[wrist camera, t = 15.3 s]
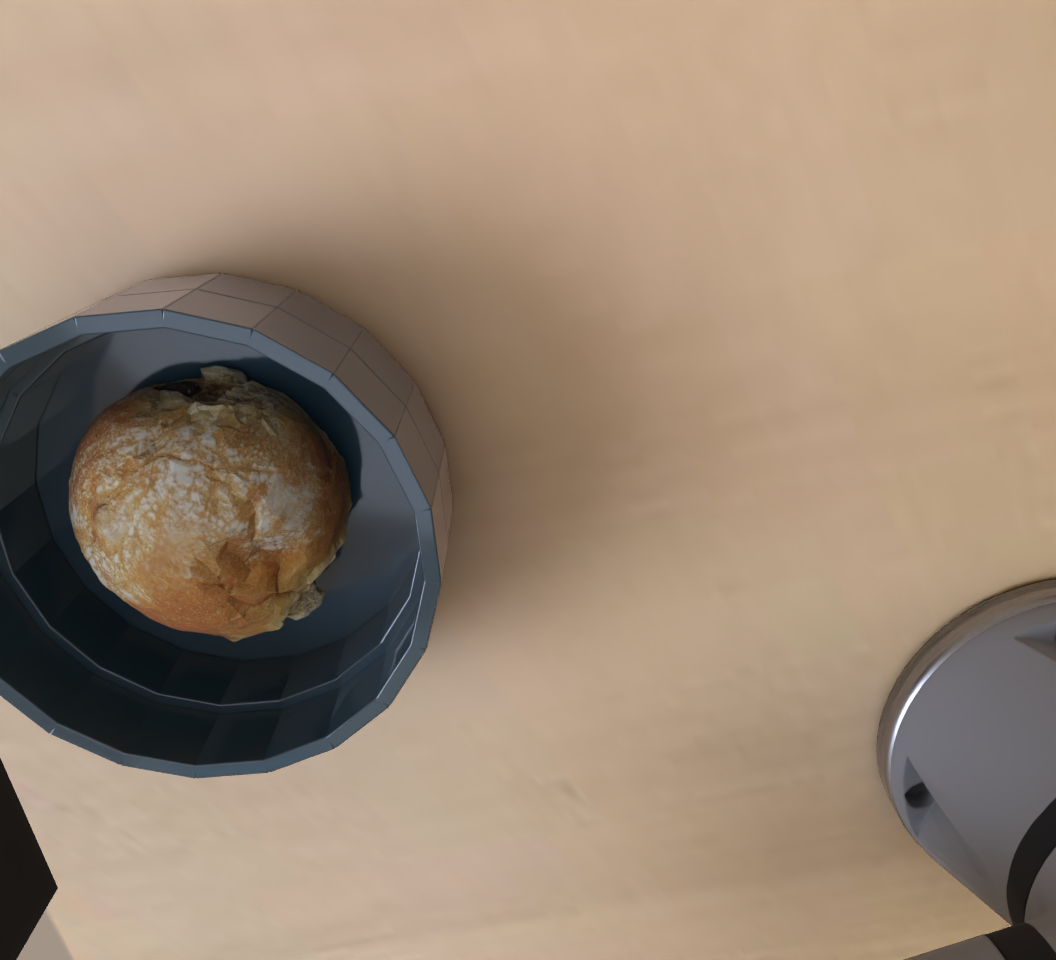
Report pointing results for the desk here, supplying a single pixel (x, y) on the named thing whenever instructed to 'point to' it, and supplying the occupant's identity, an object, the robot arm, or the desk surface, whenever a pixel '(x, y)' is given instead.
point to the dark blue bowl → (197, 658)
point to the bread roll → (210, 504)
